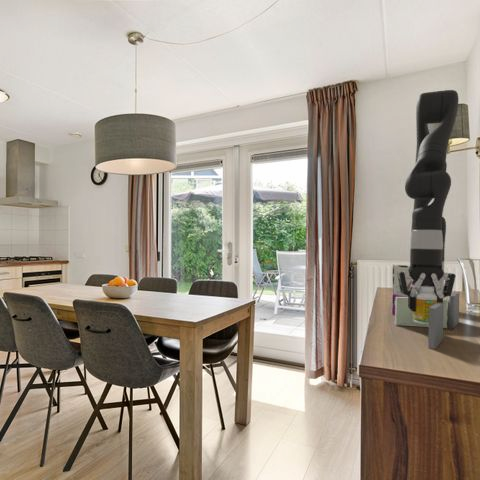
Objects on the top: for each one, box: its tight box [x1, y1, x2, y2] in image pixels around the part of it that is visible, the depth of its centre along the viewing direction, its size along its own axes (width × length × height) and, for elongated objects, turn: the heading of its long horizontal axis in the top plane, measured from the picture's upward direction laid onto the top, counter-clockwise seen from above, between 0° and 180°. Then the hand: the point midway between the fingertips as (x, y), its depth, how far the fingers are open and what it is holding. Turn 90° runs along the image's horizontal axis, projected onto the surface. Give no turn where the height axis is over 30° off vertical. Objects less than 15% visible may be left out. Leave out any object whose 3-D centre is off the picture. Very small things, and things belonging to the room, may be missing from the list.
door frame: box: [427, 291, 460, 350], centre depth 92 cm, size 36×2×9 cm, turn 141°
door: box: [394, 297, 448, 329], centre depth 99 cm, size 13×1×8 cm, turn 81°
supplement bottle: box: [413, 285, 437, 325], centre depth 93 cm, size 5×5×10 cm
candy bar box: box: [391, 264, 418, 316], centre depth 114 cm, size 11×5×16 cm, turn 68°
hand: (424, 311), depth 93 cm, fingers closed on supplement bottle, 5 cm apart
